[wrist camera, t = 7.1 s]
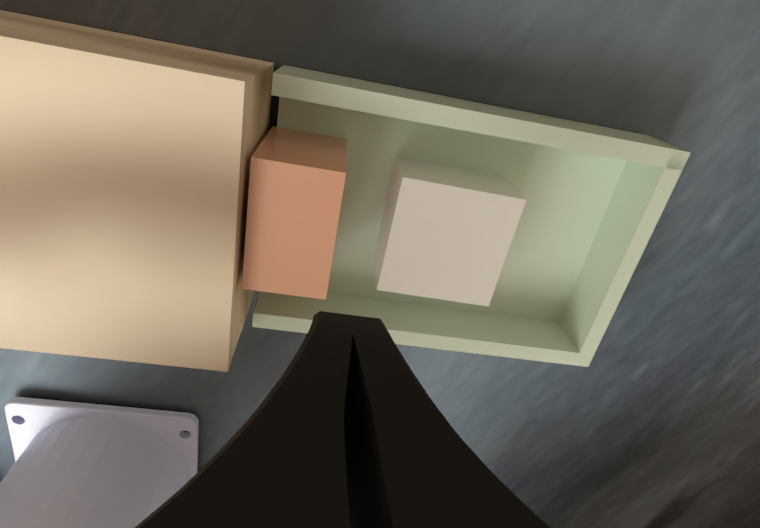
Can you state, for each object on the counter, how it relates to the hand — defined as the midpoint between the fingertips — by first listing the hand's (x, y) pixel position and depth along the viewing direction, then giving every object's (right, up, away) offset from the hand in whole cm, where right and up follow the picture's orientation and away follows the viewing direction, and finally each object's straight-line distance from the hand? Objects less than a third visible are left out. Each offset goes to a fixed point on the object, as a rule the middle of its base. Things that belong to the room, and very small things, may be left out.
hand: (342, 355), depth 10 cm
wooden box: (-10, +6, +7) cm, 14 cm away
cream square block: (+3, +2, +6) cm, 7 cm away
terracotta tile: (-3, +4, +5) cm, 7 cm away
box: (+3, +4, +9) cm, 10 cm away
